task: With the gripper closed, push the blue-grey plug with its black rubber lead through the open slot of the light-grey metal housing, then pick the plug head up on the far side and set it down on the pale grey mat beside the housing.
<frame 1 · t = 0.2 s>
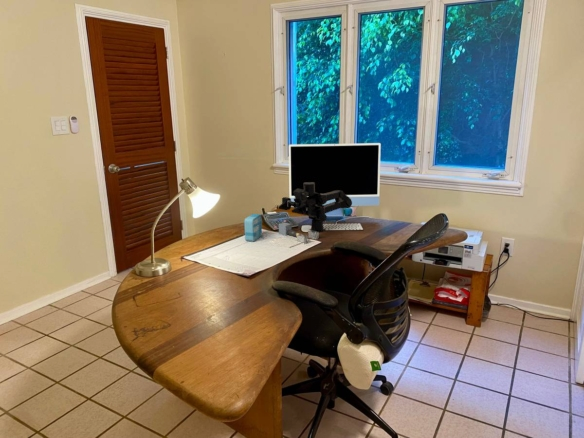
hand: (285, 209, 216), 17 cm above the table, tool horizontal, fingers open, 9 cm apart
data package: (253, 238, 225), on the table
housing: (307, 240, 222), on the table
plug: (285, 233, 232), on the table
mat: (285, 242, 218), on the table
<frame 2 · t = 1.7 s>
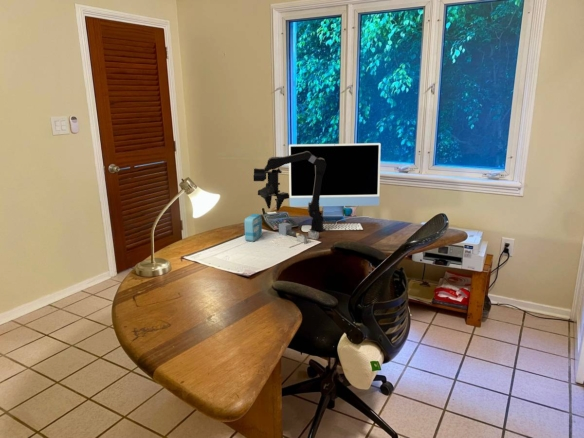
hand: (273, 209, 235), 12 cm above the table, tool pointing down, fingers open, 6 cm apart
nothing on the table moved.
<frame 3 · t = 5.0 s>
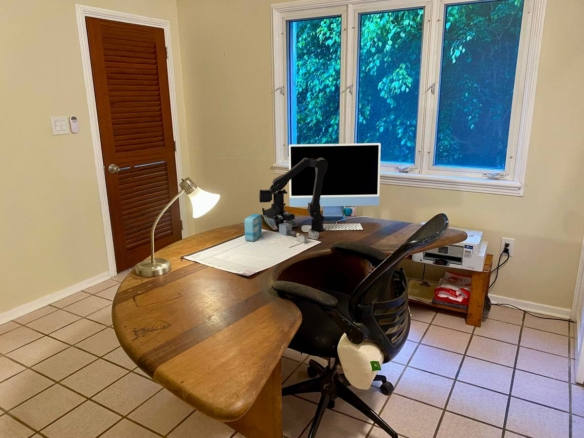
hand: (279, 229, 235), 1 cm above the table, tool pointing down, fingers closed
plug: (285, 234, 232), on the table, touching gripper
everything else where it was.
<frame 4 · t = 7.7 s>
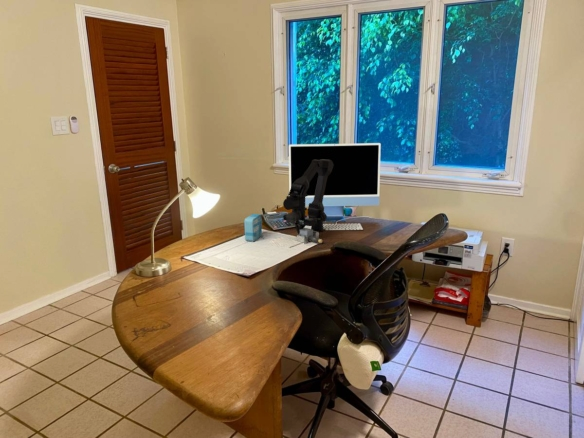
hand: (299, 235, 225), 1 cm above the table, tool pointing down, fingers closed
plug: (306, 239, 222), on the table, touching gripper
everything else where it was.
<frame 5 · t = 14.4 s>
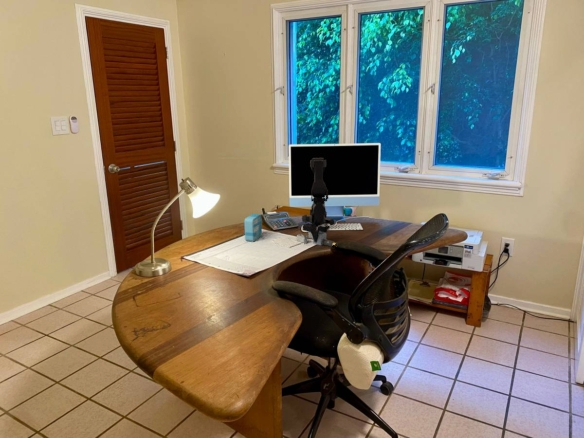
hand: (318, 241, 217), 1 cm above the table, tool pointing down, fingers closed on plug, 4 cm apart
plug: (319, 243, 217), on the table, touching gripper
everything else where it was.
when the fingers open (2 cm above the table, at t = 18.7 s): plug drops 1 cm, resting on mat.
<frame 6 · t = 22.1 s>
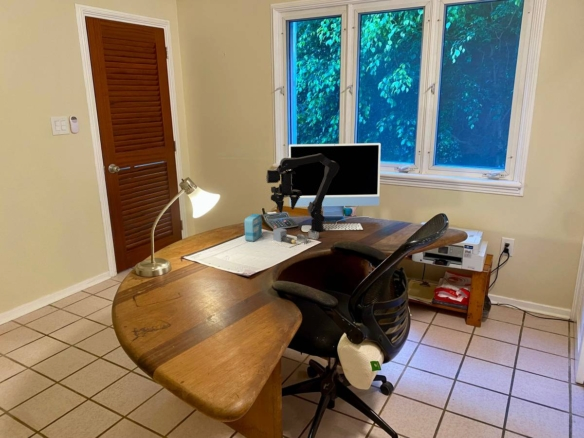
hand: (286, 211, 232), 12 cm above the table, tool pointing down, fingers open, 9 cm apart
plug: (280, 240, 221), resting on mat
everything else where it was.
at the end: plug inside the target area (1.7 cm from its centre), resting on mat; plug tilted 0°; the gripper is holding nothing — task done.
